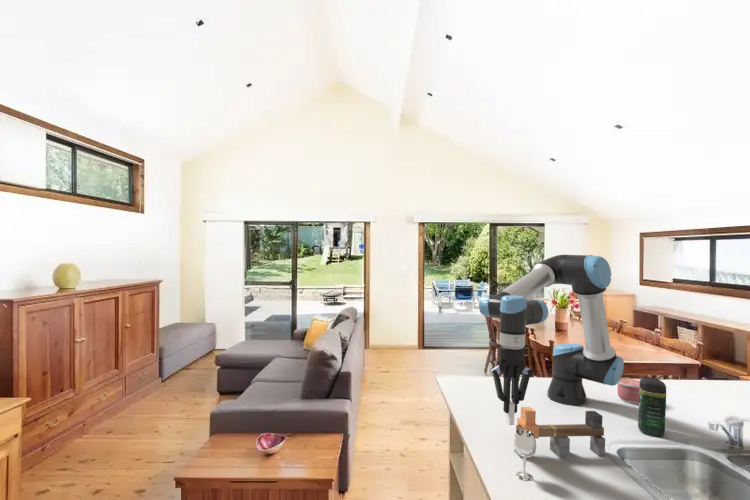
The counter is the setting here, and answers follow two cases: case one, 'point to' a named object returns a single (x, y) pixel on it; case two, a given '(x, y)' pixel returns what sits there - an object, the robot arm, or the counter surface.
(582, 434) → the beam
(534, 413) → the rider
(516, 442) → the wineglass
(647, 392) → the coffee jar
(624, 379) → the container
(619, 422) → the counter surface
